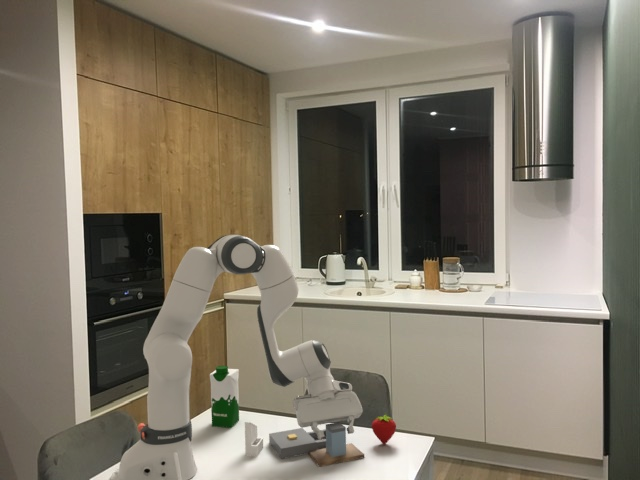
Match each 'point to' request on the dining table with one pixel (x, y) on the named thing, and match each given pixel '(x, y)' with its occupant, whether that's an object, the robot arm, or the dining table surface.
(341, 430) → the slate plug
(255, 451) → the white slotted stand
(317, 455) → the walnut pad
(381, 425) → the strawberry
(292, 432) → the grey socket base
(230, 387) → the milk carton
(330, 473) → the dining table surface
